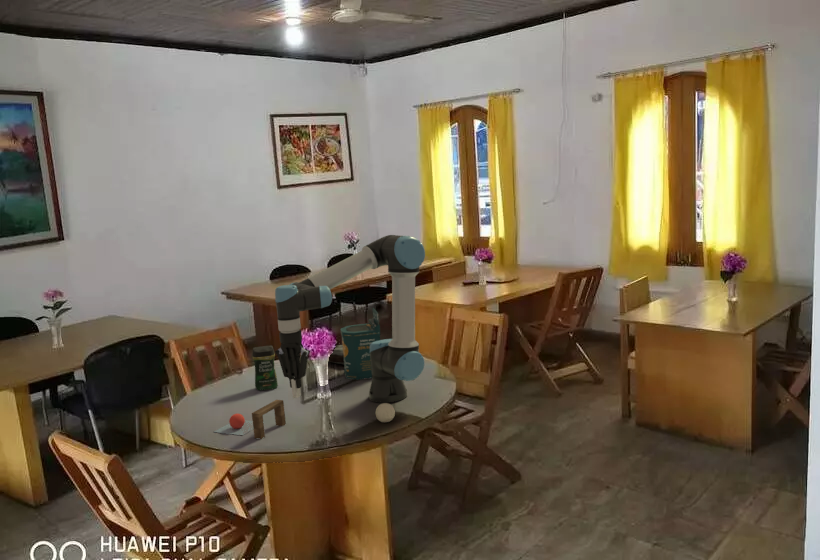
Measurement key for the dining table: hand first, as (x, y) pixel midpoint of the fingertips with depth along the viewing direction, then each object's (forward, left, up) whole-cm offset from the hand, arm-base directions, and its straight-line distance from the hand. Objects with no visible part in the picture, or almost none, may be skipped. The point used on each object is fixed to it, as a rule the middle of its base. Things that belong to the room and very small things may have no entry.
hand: (296, 396), depth 243 cm
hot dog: (+32, -82, -14) cm, 90 cm away
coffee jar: (+46, -42, -14) cm, 64 cm away
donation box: (+14, -70, -14) cm, 73 cm away
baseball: (-24, -19, -14) cm, 34 cm away
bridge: (+13, 0, -14) cm, 19 cm away
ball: (+27, +1, -11) cm, 29 cm away
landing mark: (+27, 0, -14) cm, 30 cm away
